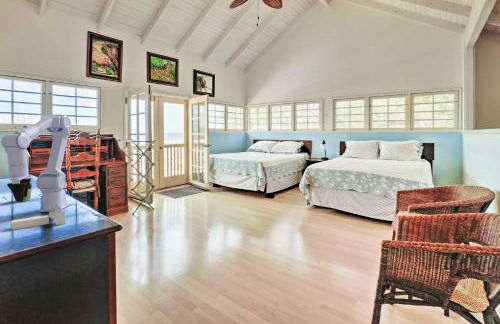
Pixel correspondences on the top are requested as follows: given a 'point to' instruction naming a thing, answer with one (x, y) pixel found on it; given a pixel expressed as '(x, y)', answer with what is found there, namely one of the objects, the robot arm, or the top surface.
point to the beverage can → (28, 192)
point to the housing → (57, 214)
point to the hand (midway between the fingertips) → (21, 198)
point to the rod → (29, 222)
